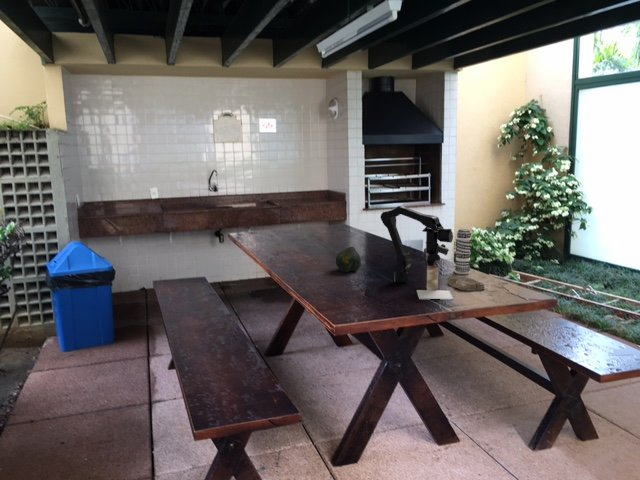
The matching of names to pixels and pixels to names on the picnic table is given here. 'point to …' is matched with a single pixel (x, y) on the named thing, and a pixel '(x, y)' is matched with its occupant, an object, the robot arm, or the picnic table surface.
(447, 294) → the white board
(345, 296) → the picnic table surface
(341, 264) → the squash
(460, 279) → the flat brown rock
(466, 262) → the decorative candle
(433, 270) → the birch block
